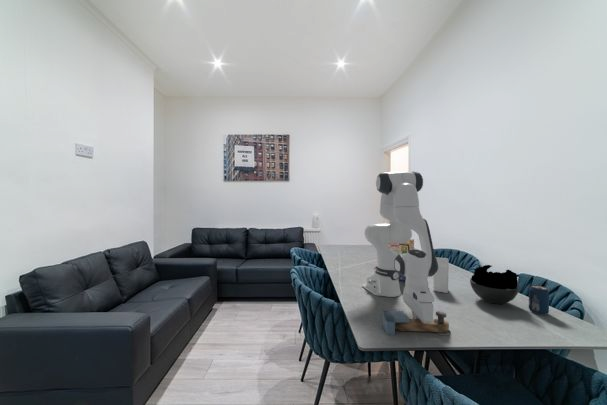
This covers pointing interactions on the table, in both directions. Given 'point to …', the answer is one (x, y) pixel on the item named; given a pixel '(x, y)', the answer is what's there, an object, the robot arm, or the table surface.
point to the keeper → (392, 320)
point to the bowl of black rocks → (494, 285)
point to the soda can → (539, 300)
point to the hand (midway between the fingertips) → (416, 322)
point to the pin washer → (444, 333)
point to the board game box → (401, 251)
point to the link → (425, 324)
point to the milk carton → (441, 275)
